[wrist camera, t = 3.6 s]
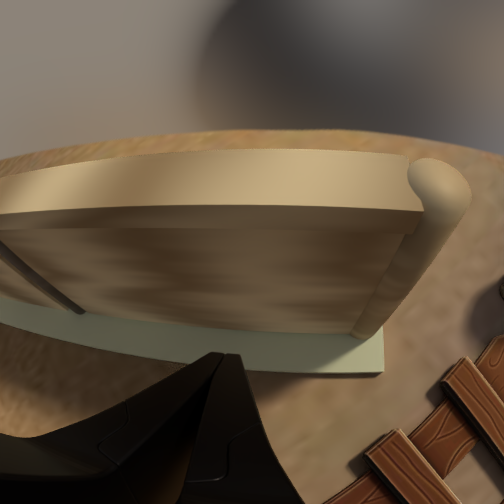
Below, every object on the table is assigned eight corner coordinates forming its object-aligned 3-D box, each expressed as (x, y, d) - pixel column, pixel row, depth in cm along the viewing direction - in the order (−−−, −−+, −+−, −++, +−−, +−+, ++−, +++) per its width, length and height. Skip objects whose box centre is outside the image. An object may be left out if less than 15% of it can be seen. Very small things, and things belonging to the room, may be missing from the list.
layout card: (-22, 315, 18) (-26, 312, 18) (28, 195, 25) (26, 191, 24) (381, 372, 14) (384, 371, 14) (364, 184, 21) (365, 179, 20)
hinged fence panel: (87, 317, 17) (-33, 217, 8) (95, 290, 18) (-12, 180, 9) (379, 339, 15) (480, 216, 6) (377, 306, 15) (459, 162, 7)
